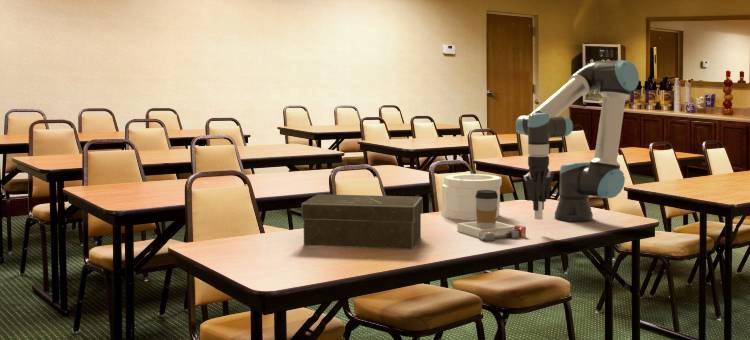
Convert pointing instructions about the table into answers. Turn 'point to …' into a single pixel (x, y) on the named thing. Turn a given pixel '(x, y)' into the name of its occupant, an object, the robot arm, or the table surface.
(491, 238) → the bar guides
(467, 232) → the square tray
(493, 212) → the coffee cup
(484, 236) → the lock bar
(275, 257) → the table surface
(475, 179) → the container
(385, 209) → the box
